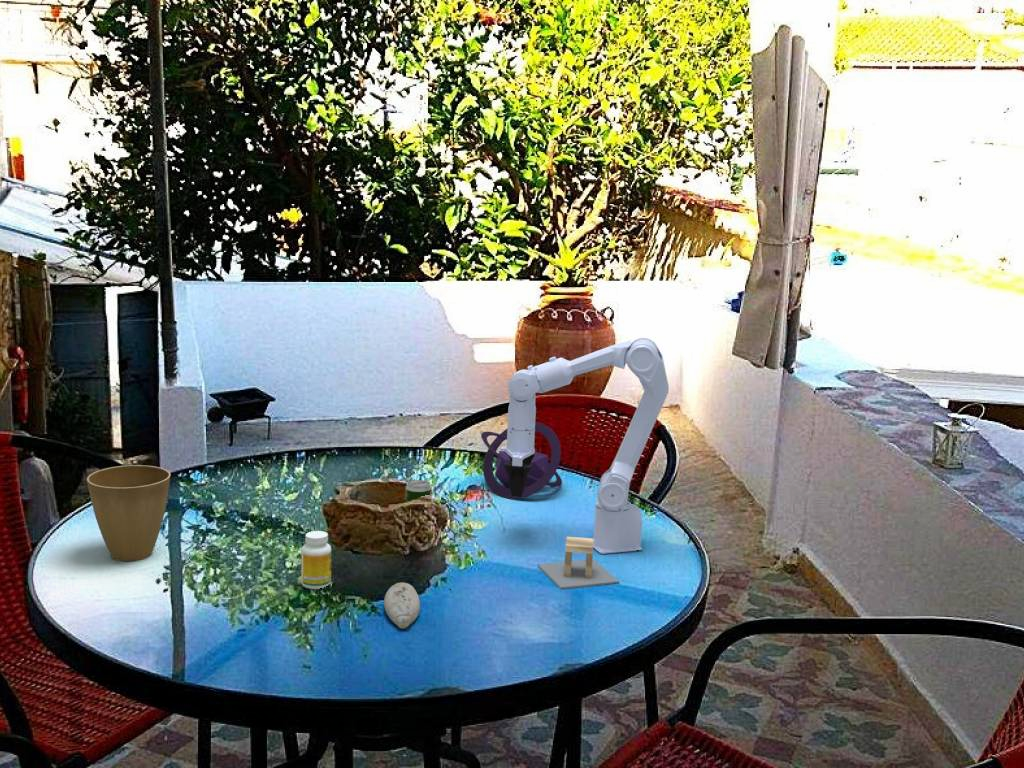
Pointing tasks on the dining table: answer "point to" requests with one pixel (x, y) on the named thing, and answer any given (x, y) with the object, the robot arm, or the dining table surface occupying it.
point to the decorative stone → (402, 604)
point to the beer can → (417, 489)
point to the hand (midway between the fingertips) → (518, 490)
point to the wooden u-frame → (580, 547)
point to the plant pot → (129, 508)
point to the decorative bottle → (540, 467)
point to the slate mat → (577, 574)
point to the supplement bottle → (316, 561)
